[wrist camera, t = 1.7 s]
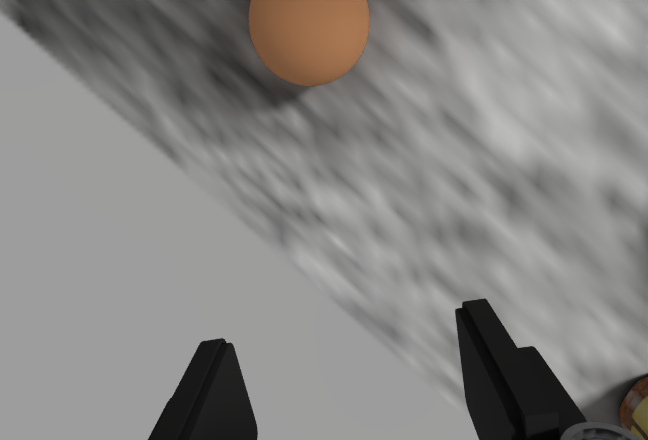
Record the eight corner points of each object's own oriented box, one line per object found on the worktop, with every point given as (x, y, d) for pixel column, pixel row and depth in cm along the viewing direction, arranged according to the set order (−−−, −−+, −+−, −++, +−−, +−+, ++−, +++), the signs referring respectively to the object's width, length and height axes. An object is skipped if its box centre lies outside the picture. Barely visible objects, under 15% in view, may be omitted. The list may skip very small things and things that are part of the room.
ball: (248, -18, 23) (220, -45, 18) (356, -43, 22) (361, -78, 17) (273, 93, 24) (254, 99, 19) (374, 73, 24) (383, 73, 19)
